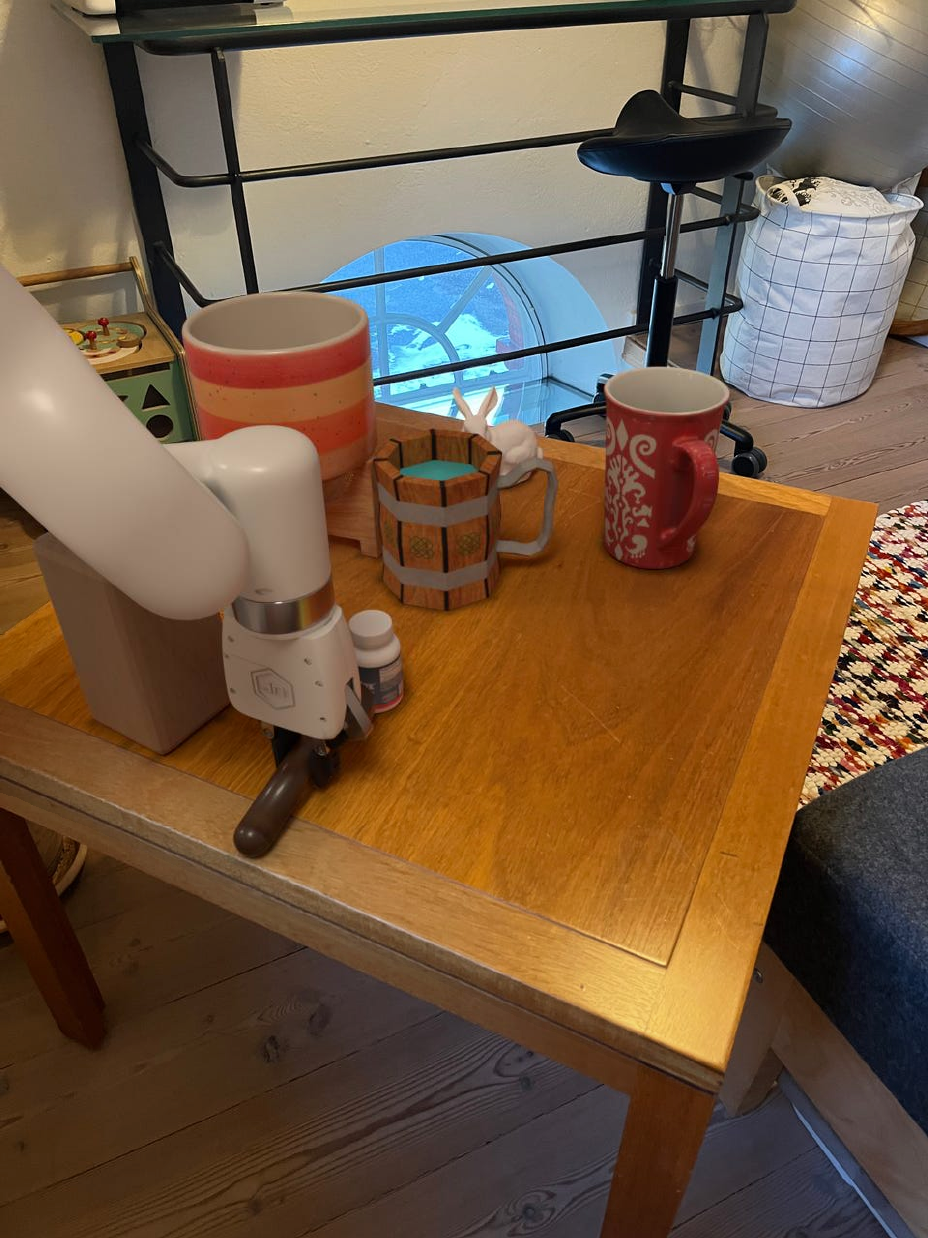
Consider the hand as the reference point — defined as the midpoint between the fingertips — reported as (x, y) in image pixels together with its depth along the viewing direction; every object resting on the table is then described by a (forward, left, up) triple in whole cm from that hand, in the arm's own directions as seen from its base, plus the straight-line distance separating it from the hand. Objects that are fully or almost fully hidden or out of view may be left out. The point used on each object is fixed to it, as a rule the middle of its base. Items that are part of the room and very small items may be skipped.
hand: (308, 769), depth 78 cm
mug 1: (+5, +34, -2) cm, 34 cm away
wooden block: (-17, +5, -2) cm, 17 cm away
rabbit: (+2, +57, -2) cm, 57 cm away
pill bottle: (+2, +12, -2) cm, 12 cm away
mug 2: (+25, +43, -2) cm, 50 cm away
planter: (-16, +36, -2) cm, 40 cm away
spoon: (0, 0, 0) cm, 0 cm away
